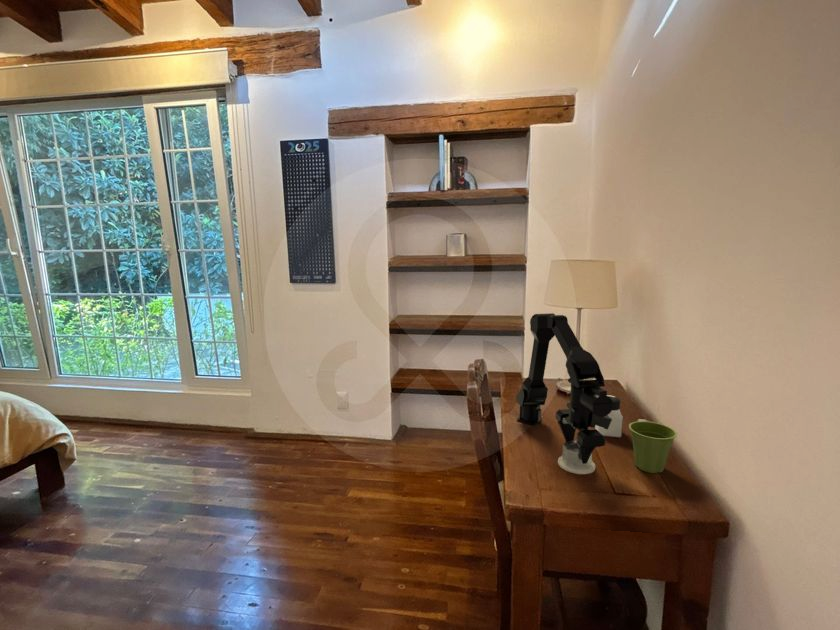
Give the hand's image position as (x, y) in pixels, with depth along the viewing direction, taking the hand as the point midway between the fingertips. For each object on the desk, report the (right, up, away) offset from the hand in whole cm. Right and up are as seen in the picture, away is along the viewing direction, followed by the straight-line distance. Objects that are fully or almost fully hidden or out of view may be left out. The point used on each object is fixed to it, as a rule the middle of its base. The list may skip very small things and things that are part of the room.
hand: (576, 455), depth 125 cm
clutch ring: (0, -2, 0) cm, 2 cm away
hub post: (0, -3, +1) cm, 3 cm away
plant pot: (+20, -3, 0) cm, 20 cm away
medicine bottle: (+18, +1, +22) cm, 28 cm away
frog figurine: (+27, -1, +16) cm, 31 cm away
